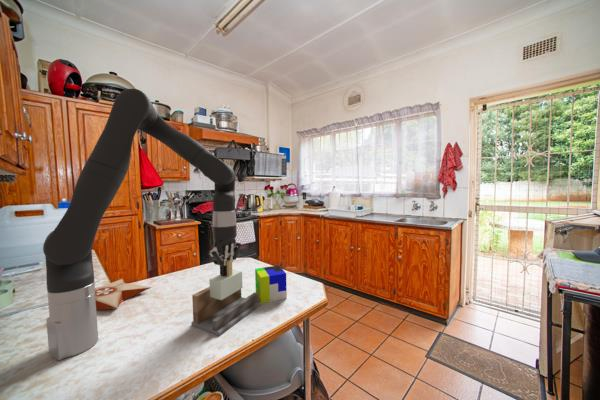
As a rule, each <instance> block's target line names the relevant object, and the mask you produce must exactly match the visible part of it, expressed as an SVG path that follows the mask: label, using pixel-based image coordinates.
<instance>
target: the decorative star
mask: <svg viewBox="0 0 600 400" xmlns="http://www.w3.org/2000/svg"><path fill="white" fill-rule="evenodd" d="M151 288H152V287H151V286H144V285H139V284H133V283H132V284H131V283H127V282H125V281H124V279H123V278H120V279H118V280H115V281H112V282H110V283H107V284H105V285H102V286H100V287H95V298H96V311H101V310H109V309H110V310H111V309H118V308H119V306H120V305H121V304H122V302H123V301H122V300H124V301H126V300H128V299H130V298H132V297H134V296H137V295H138V294H141V293H143V292H144V291H147V290H149V289H151ZM125 299H126V300H125Z"/></svg>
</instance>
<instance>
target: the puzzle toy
mask: <svg viewBox="0 0 600 400" xmlns="http://www.w3.org/2000/svg"><path fill="white" fill-rule="evenodd" d="M254 272H255V275H254V276H255V277H254V278H255V293H257V294H258V301H259V302H261V304H266V303H271V302H277V301H283V300H286V299H287V291H288V290H287V273H286V272H285V271H284V269H283V268H282V267H281V265H279V264H278V265H271V266H266V267H258V268H255V269H254Z"/></svg>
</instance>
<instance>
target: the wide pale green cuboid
mask: <svg viewBox="0 0 600 400" xmlns="http://www.w3.org/2000/svg"><path fill="white" fill-rule="evenodd" d="M222 261H223V259H222ZM226 265H227V276H221V274H220V273H219V274H217V275H215V276H213V277H211V278H209V281H208V282H209V287H210V297H212V298H215V299H219V300H223V299H224V298H226V297H228V296H229V295H231V294H233V293H235V292H236V291H238V290H240V289H241V290H242V289H243V271H242V270H238V269H237V270H236V269H233V262H232V261H231V260H227V264H226Z"/></svg>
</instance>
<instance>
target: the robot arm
mask: <svg viewBox="0 0 600 400" xmlns="http://www.w3.org/2000/svg"><path fill="white" fill-rule="evenodd" d="M138 130H140V131H141V132H143V133H145V134H146V135H149V136H150V137H153V138H154V139H156V140H157V141H159V142H161V143H162V144H163V145H165V146H166V147H167V148H169V149H170V150H172V152H174V153H175V154H177V155H178V156H179V157H180V158H182V159H183V160H185V162H187V163H189V164H190V165H191V166H193V167H195V168H196V169H198V170H199V171H200V172H201V173H202V174H203V175H204V176H205V177H206V178H208V179H209V180H210V181H211V182H213V183H214V194H213V196H212V236H213V237H212V238H213V239H214V245H213V248H212V249H211V250H208V251H207V255H208V256H209V258H210V259H211V260H212V262H213V264H214V265H217V266H219V274H221V276H227V265H226V264H227V260H231V261H232V263H233V261H235V260H237V257H238V256H239V252H240V250H241V247H242V244H241V242H237V241H236V238H237V235H238V233H237V215H236V200H235V191H236V173H235V170H234V169H233V167H231V166H230V165H229V164H227V163H226V162H224V161H223V160H221V159H220V158H218V157H217V156H215V155H214V154H213V153H212V151H210V150H209V149H208V148H207V147H205V146H204V145H203V144H201V143H200V142H198V140H196V139H194V138H193V137H191V136H190V135H188V134H185V133H184V132H182V131H180V130H178V129H176V127H175V128H174V127H173V126H172V125H171V124H169V123H168V122H167V121H166V120H165V119H164V118H163V117H161V115H160V114H159V113H158V112H157V111H156V108H155V106H154V105H153V103H152V100H150V98H149V97H148V95H147V94H146V93H145V92H143V91H142V90H139V89H137V88H127V89H124V90H123V91H122V90H121V92H119V93H118V94H117V96H116V97H115V99H114V101H113V104H112V107H111V109H110V112H109V115H108V118H107V121H106V124H105V126H104V129H103V130H102V132H101V134H100V136H99V138H98V140H97V141H96V143H95V146H94V147H93V149H92V152H91V153H90V155H89V157H88V158H87V160H86V162H85V164H84V165H83V168H82V170H81V172H80V173H79V176H78V178H77V180H76V184H75V186H74V189H73V192H72V194H71V195H72V197H71V200H70V202H69V205H68V207H67V209H66V212H65V213H64V214H63V216H62V218H61V219H60V221H59V222H58V224H57V225H56V227H55V228H54V230H52V231H51V232H50V233H49V234H48V235H47V236H46V238H45V240H44V242H43V246H42V251H43V254H44V257H45V258H44V259H45V267H46V269H45V270H46V274H45V276H46V291H47V293H46V294H47V302H48V303H47V304H48V315H49V317H48V318H46V331H47V333H46V334H47V345H48V347H47V348H48V354H49V355H50V356H52V357H53V358H55V359H56V360H57V361H61V360H64V359H65V358H69V357H73V356H77V355H79V354H81V353H83V352H86V351H88V350H89V349H91V348H92V347H93V346H95V345H96V344H97V342H98V341H99V330H98V329H99V327H98V319H97V318H98V317H97V315H98V314H97V312H98V311H97V310H96V298H95V288H96V286H95V284H96V283H95V270H94V263H93V251H92V250H93V249H92V248H93V245H94V242H95V239H96V235H97V232H98V229H99V226H100V224H101V221H102V219H103V218H104V216H105V213H106V211H107V210H108V209H109V206H110V205H111V204H112V202H113V200H114V199H115V197H116V195H117V193H118V191H119V189H120V188H121V186H122V184H123V181H124V179H125V178H126V175H127V173H128V171H129V169H130V168H129V167H130V163H131V157H132V147H133V142H134V138H135V135H136V133H137V132H138ZM222 259H223V261H222Z"/></svg>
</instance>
